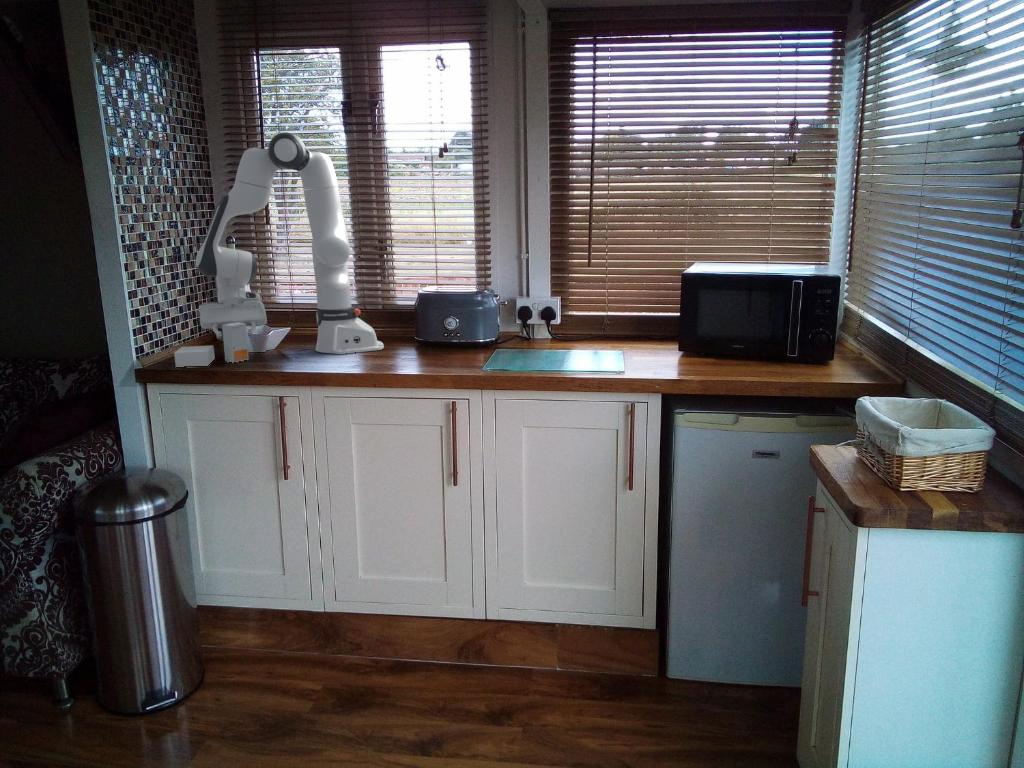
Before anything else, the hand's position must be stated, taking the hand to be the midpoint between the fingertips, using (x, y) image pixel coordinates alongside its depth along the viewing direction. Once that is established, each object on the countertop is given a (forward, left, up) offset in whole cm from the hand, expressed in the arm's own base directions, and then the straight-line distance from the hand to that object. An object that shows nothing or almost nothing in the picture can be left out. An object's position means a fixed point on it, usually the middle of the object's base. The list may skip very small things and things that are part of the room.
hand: (235, 336), depth 262 cm
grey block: (+12, 0, -8) cm, 15 cm away
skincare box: (0, 0, -8) cm, 8 cm away
